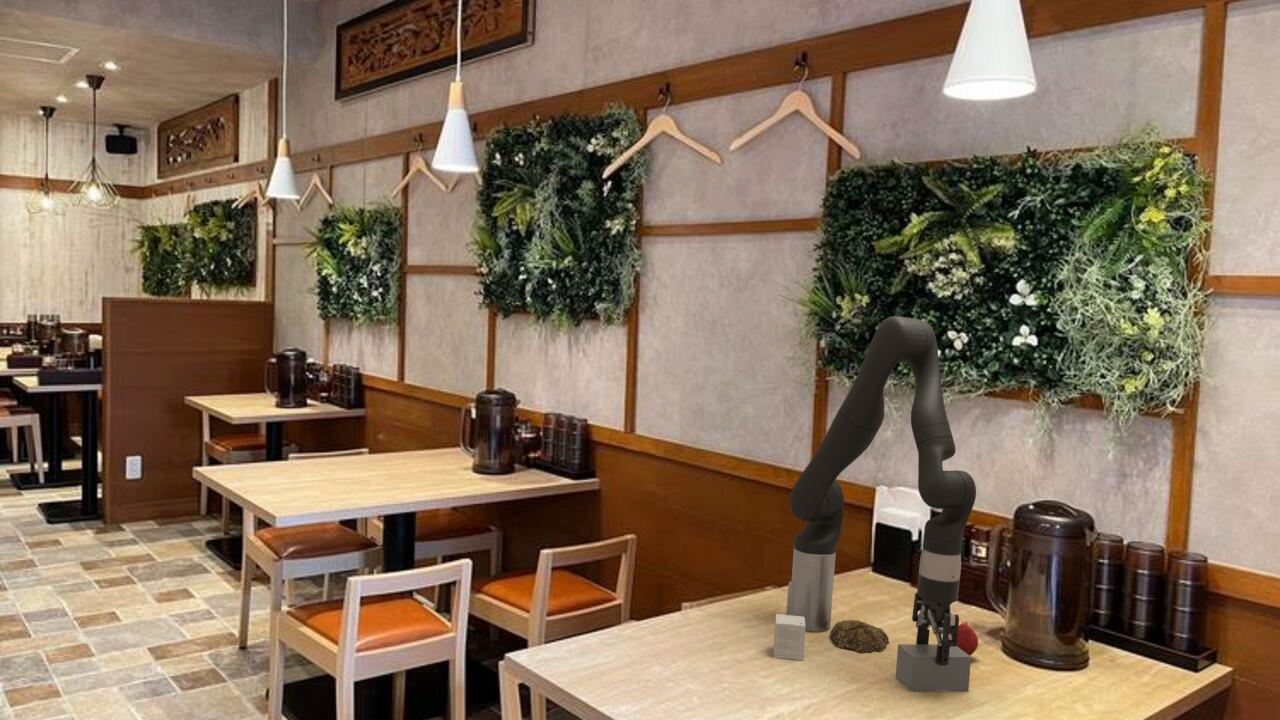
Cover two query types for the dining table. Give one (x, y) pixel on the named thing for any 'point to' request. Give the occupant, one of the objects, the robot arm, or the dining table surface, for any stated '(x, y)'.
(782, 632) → the product box
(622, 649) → the dining table surface
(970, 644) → the onion
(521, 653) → the dining table surface
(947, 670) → the gray rectangular prism
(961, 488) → the robot arm
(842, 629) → the bread roll
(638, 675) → the dining table surface
